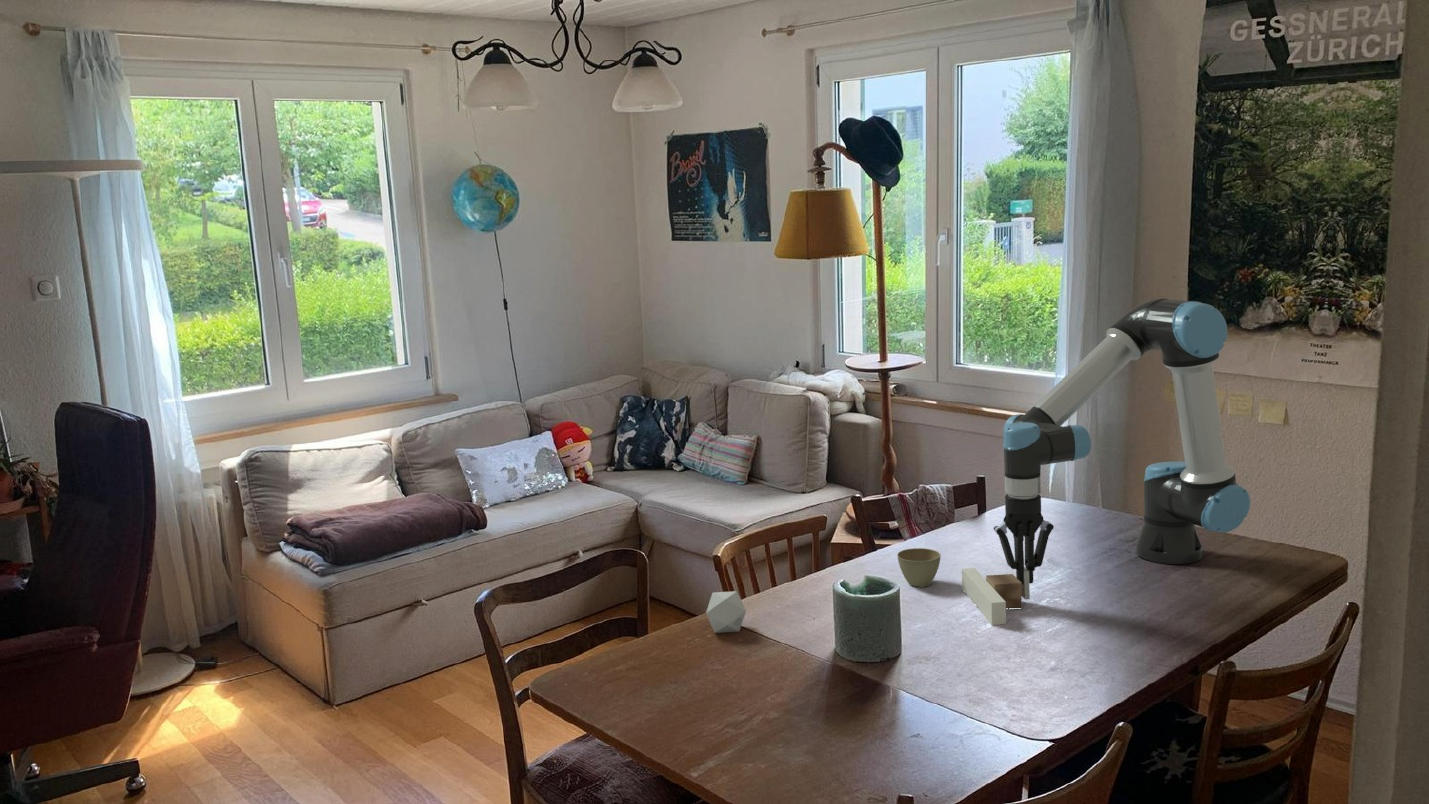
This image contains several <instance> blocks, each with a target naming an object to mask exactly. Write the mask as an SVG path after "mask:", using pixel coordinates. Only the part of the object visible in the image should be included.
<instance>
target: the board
mask: <svg viewBox="0 0 1429 804" xmlns="http://www.w3.org/2000/svg"><path fill="white" fill-rule="evenodd" d="M962 589H963V590H964V591H965V593H966V594H967V595H968V596H967V595H966V594H965V593H964V594H965V595H966V596H967V597H968V599H969V598H970V599H971V600H972V601H971V600H970V599H969V600H970V601H971V602H972V604H973V605H974V604H976V606H977V607H978V608H979V609H978V608H977V607H976V606H975V607H976V608H977V609H978V611H979V610H980V611H981V612H982V613H983V614H982V613H981V612H980V611H979V612H980V613H981V614H982V616H983V617H984V616H985V617H986V618H987V619H986V618H985V617H984V618H985V619H986V621H989V622H988V623H989V624H990V626H1001V625H1000V624H1005V625H1006V624H1007V620H1006V619H1007V618H1006V617H1007V610H1006V602H1005V601H1004V600H1003V598H1002V597H1001V596H1000V595H999V594H998V593H997V592H996V591H995V589H994V588H993V587H992V586H991V585H990V584H989V583H988V582H987V581H986V578H984V576H983V575H982V574H981V573H980V572H979V571H978V570H977V569H976V568H974V567H971V568H970V567H969V568H961V590H962ZM963 590H962V591H963ZM964 591H963V592H964ZM998 624H999V625H998Z"/></svg>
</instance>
